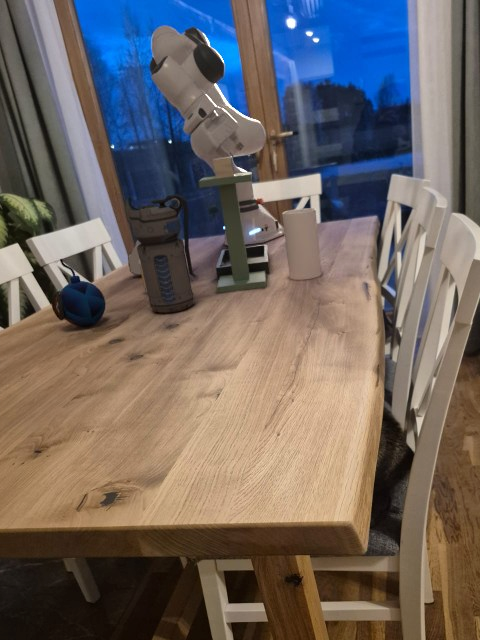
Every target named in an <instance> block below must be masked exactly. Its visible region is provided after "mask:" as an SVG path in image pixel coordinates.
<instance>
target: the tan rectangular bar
mask: <svg viewBox="0 0 480 640" xmlns="http://www.w3.org/2000/svg"><path fill="white" fill-rule="evenodd" d="M233 162H234V158H233V159H232V156H231V157H223V158H216V159H214V160H213V164H214V170H215V173H214V176H216V179H217V178H225V177H233V176H234V174H235V172H234V166H233Z"/></svg>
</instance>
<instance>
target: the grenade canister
mask: <svg viewBox="0 0 480 640" xmlns="http://www.w3.org/2000/svg"><path fill="white" fill-rule="evenodd" d="M150 202H151V204H148V205H141V206H135V204H133V201H132V197H131V196H129V197H126V200H125V205H124V213H125V218H126V221H127V222H128V223H129V226H130V228H132V232H133V237H134V238H135V240H136V241H137V240H138V241H139V242H140V243H141V244H139V245H138V247H137V251H138V255H139V258H140V262H141V267H142V271H143V275H144V280H145V284H146V289H147V293H146V294H147V297H148V303H149V307H150V308H151V310H152V311H153V312H156V313H161V314H170V313H171V314H172V313H177V312H181V311H184V310H186V309H188V308H190V307H191V306H193V304H194V301H195V296H194V291H193V288H192V283H191V279H190V276H192V277H193V278H195V279H198V277H197V276H198V275H196V274H195V273H194V271H193V265H192V259H191V253H190V244H189V243H190V242H189V241H190V240H189V239H190V232H189V229H190V228H189V205H188V200H187V198H185V197H183V196H182V195H180V194H171V195H167V196H166V197H165V198H161V199H152V200H151V201H150ZM167 202H169V206H167V205H166V203H167ZM157 204H158V205H159V206H155V205H157ZM182 208H183V224H184V225H183V232H184V233H183V235H184V240H183V239H182V238H179V235H180V232H181V231H182V230H181V229H182V223H181V219H180V217H179V214H180V212H181V210H182Z"/></svg>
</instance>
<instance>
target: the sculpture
mask: <svg viewBox="0 0 480 640" xmlns="http://www.w3.org/2000/svg"><path fill="white" fill-rule="evenodd" d="M139 244H141V243H140V242H139V241H138V240H137V239H136V242H135V246H134V248H133V249H132V251H131V252H130V253H129V255H128V256H127V261H128V263H127V265H128V267H129V272H130V273H131V274H132V275H133V274H134V275H136V276H141V272H140V267H139V260H140V258H139V255H138V251H137V247H138V245H139Z"/></svg>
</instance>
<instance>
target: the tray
mask: <svg viewBox="0 0 480 640" xmlns="http://www.w3.org/2000/svg"><path fill="white" fill-rule="evenodd" d="M245 247H246V254H247V260H248V267H249V273H250V272H258V271H265V273H266V275H270V273H271V272H270V255H269V248H268V244H259V245H252V246H251V245H250V246H245ZM215 272H216V279H217V281H219V278H220V276H226V275H233V274H232V268H231V262H230V255H229V249H222V250H221V252H220V255H219V257H218V260H217V263H216V266H215Z"/></svg>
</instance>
